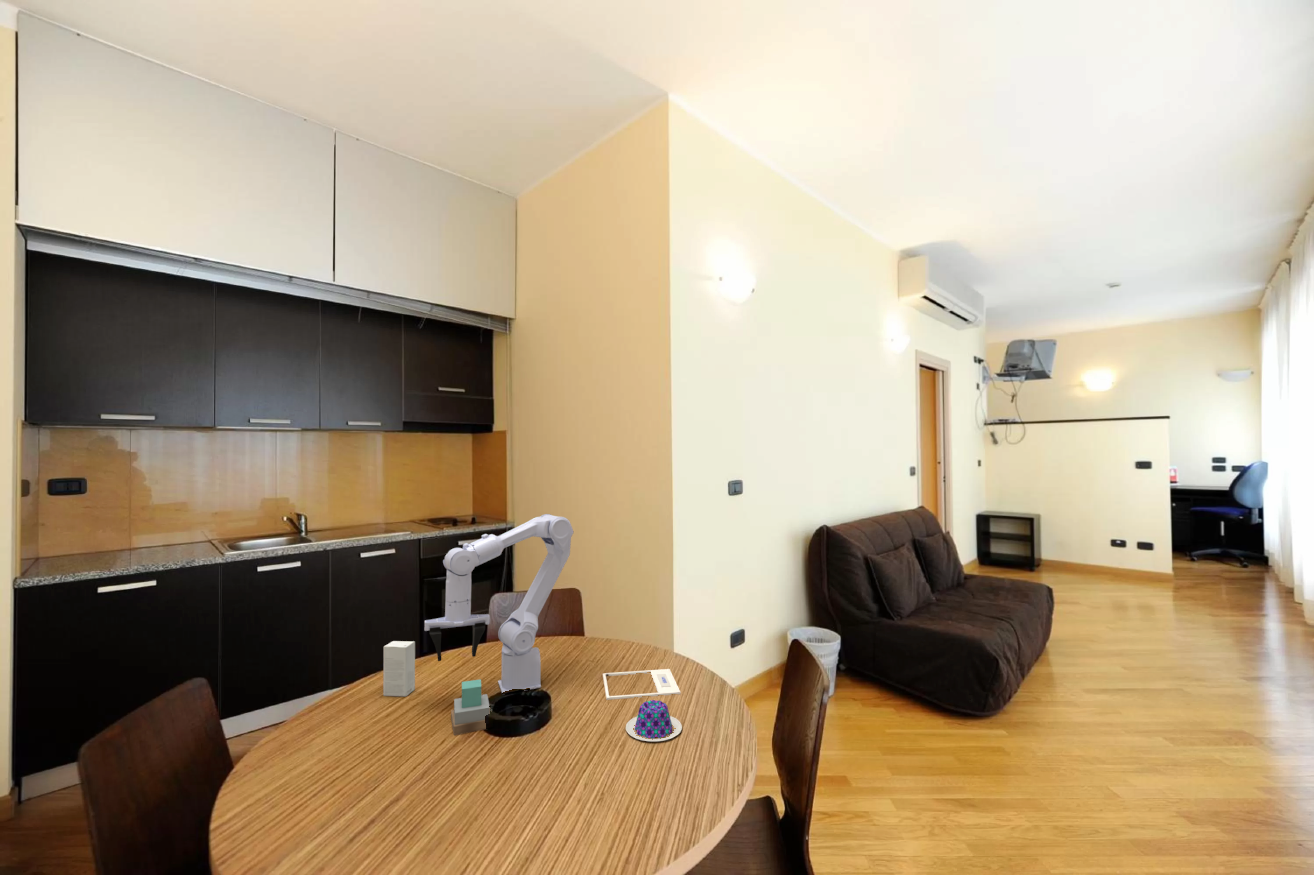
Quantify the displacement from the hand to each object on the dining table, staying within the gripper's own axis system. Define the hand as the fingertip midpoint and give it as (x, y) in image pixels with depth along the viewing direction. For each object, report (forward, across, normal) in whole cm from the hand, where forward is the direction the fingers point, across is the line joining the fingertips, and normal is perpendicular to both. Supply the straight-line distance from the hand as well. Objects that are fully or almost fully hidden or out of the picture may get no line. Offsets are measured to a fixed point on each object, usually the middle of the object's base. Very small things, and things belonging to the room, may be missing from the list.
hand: (456, 657), depth 130 cm
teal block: (+6, +2, -12) cm, 14 cm away
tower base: (+11, +3, -12) cm, 17 cm away
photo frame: (+10, +44, -9) cm, 46 cm away
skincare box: (+11, -12, +11) cm, 20 cm away
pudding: (+10, +38, -31) cm, 50 cm away
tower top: (+9, +2, -12) cm, 15 cm away
